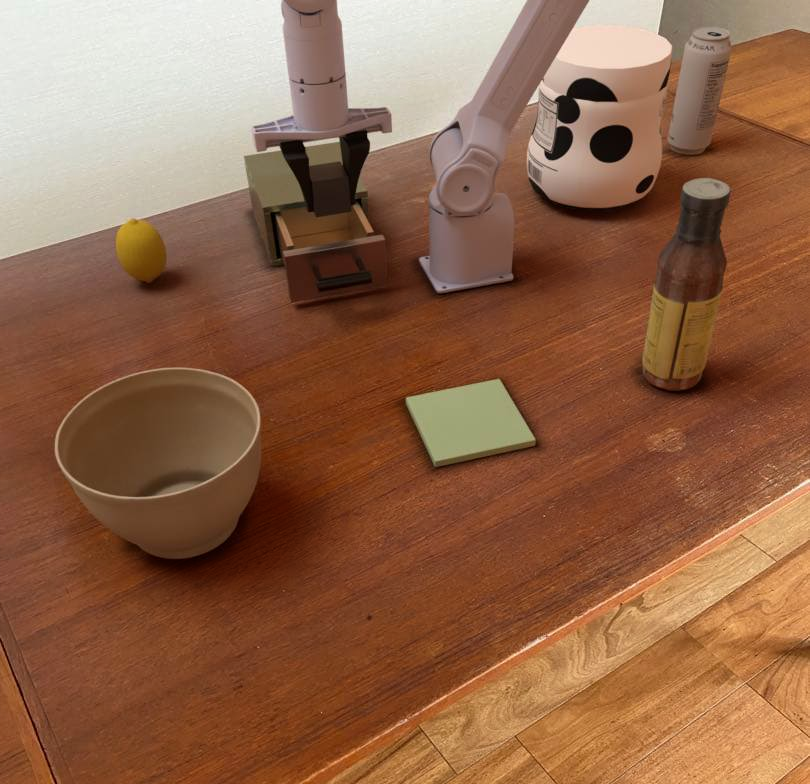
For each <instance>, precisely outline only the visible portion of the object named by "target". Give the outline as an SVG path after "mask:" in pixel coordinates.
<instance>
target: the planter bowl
mask: <svg viewBox="0 0 810 784" xmlns="http://www.w3.org/2000/svg"><path fill="white" fill-rule="evenodd" d="M55 434H56V435H55V439H54V455H55V460H56V461H57V464H58V466H59V469H60V470H61V472H62V473H63V475H64V477H65V478H66V480H67V481H68V482H69V483H70V485H71V487H72V489H73V491H74V492H75V494H76V496H77V497H78V499H79V500H80V502H81V504H83V505H84V507H85V508H86V510H88V512H89V513H90V514H91V515H92V516H93V517H94V518H95V519H96V520H97V521H98V522H99V523H101V524H102V525H103V526H104V527H105V528H106V529H108V530H109V531H111V532H112V533H114V534H115V535H117V536H119V537H120V538H122V539H124V540H125V541H128V542H129V543H132V544H134V545H137V546H138V547H139V548H140V549H141V550H143V551H144V552H145V553H147V554H149V555H152V556H155V557H156V558H162V559H168V560H181V559H190V558H194V557H197V556H200V555H203V554H206V553H208V552H210V551H213V550H214V549H216V548H217V547H219V546H220V545H222V544H223V543H224V542H225V541H227V539H228V538H229V537H230V536H231V534H233V532H234V531H235V529H236V528H237V525H238V522H239V519H240V516H241V515H242V514H243V512H244V510H245V509H246V507H247V505H248V504H249V502H250V500H251V498H252V496H253V494H254V491H255V488H256V486H257V483H258V479H259V477H260V470H261V469H260V468H261V465H262V439H261V434H262V417H261V411H260V408H259V405H258V403H257V401H256V399H255V398H254V396H253V395H252V393H250V391H249V390H247V389H246V388H245V387H244V386H243V385H242V384H240V383H239V382H237V381H236V380H235V379H232V378H231V377H228V376H226V375H223V374H220V373H218V372H213V371H211V370H205V369H199V368H192V367H160V368H155V369H154V368H153V369H149V370H143V371H139V372H134V373H131V374H129V375H125V376H123V377H120V378H117V379H115V380H112V381H109V382H108V383H106V384H104V385H102V386H100V387H98V388H96V389H95V390H93V391H91V392H90V393H89V394H87V395H86V396H85V397H83V398H82V399H81V400H80V401H79V402H77V404H75V406H73V407H72V409H71V410H70V411H69V412H68V413H67V414H66V415H65V417H64V418H63V420H62V422H61V423H60V424H59V427H58V429H57V432H56V433H55Z"/></svg>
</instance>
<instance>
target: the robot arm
mask: <svg viewBox="0 0 810 784" xmlns="http://www.w3.org/2000/svg"><path fill="white" fill-rule="evenodd" d="M589 2H590V0H526V2H525V3H524V5H523V7H522V9H521V10H520V12H519V14H518V15H517V18H516V19H515V21H514V23H513V25H512V27H511V29H510V30H509V32H508V34H507V36H506V37H505V39H504V41H503V43H502V45H501V46H500V49H499V50H498V52H497V54H496V56H495V57H494V59H493V61H492V62H491V65H490V66H489V68H488V70H487V72H486V73H485V76H484V77H483V79H482V80H481V83H480V85H479V86H478V88H477V90H476V92H475V93H474V95H473V97H472V99H471V100H470V101H469V102H467V103H466V104H465V105H463V106H462V107H460V108H459V109H458V111H457V113H456V115H455V117H454V118H453V119H452V121H451V122H450V123H449V124H447V125H446V126H445V127H444V128H442V129H441V130H439V131H438V132H437V133H436V134H435V136H434V137H433V139H432V141H431V143H430V145H429V152H428V153H429V154H428V155H429V156H428V157H429V162H430V165H431V167H432V171H433V175H434V180H435V184H434V186H433V188H432V190H431V191H430V193H429V195H428V240H429V241H428V243H429V245H428V248H429V250H428V251H429V252H428V254H429V255H426V256H421V257H419V258H418V262H419V265H420V266H421V268H422V270H423V271H424V273H425V275H426V277H427V278H428V280H429V281H430V284H431V285H432V287H433V288H434V291H435V292H436V293H437V294H446V293H451V292H456V291H457V292H458V291H461V290H468V289H473V288H478V287H483V286H489V285H494V284H500V283H501V284H502V283H507V282H511V281H513V280H514V274H513V273H512V271H513V270H512V269H513V255H514V254H513V253H514V242H515V241H514V240H515V216H514V210H513V206H512V203H511V200H510V198H509V197H508V195H507V194H506V193H505V192H495V191H496V181H497V175H498V174H499V171H500V169H501V167H503V164H504V163H505V159H506V155H507V150H508V146H509V140H510V135H511V133H512V131H513V129H514V128H515V126H516V125H517V122H518V121H519V119H520V117H521V116H522V114H523V112H524V111H525V109H526V107H527V105H528V104H529V102H530V101H531V99H532V97H533V96H534V94H535V92H536V91H537V89H538V88H539V84H540V82H541V81H542V79H543V77H544V76H545V74H546V72H547V71H548V69H549V67H550V66H551V64H552V62H553V61H554V59H555V57H556V56H557V54H558V52H559V51H560V49H561V47H562V46H563V44H564V42H565V41H566V39H567V37H568V36H569V34H570V32H571V31H572V29H573V28H575V26H576V24H577V22H578V21H579V19H580V17H581V16H582V14H583V12H584V10H585V9H586V8H587V6H588V4H589ZM280 11H281V15H282V18H283V23H282V33H283V34H282V35H283V43H284V50H285V59H286V66H287V67H286V68H287V74H288V75H287V76H288V82H289V89H290V90H289V91H290V100H291V107H292V115H289V116H286V117H283V118H279V119H275V120H272V121H270V122H265V123H262V124H255V125H251V135H252V140H253V141H252V142H253V145H254V148H255V151H256V153H260V152H261V153H262V152H266V151H267V150H268V148H269V149H270V148H276V147H279V149H280V151H282V154H283V156H284V158H285V160H286V162H287V164H288V165H289V167H290V168H291V170H292V172H293V174H294V175H295V177H296V179H297V181H298V183H299V185H300V188H301V191H302V194H303V198H304V202H305V206H306V208H307V211H308V212H314V204H313V196H312V191H311V185H310V173H309V158H308V156H307V153H306V149H305V147H306V146H305V143H309V142H316V141H324V140H331V139H338V140H339V141H338V142H340V148H341V155H342V163H343V167H344V169H345V171H346V173H347V175H348V178H349V190H350V202H351V206H353V205H355V195H356V189H357V184H358V180H359V177H360V176H361V173H362V171H363V167H364V165H365V163H366V160H367V158H368V156H369V154H370V150H371V141H370V140H369V137H368V134H372V133H377V132H380V133H382V134H390V133H393V121H392V120H393V117H392V112H391V111H390V110H389V108H388V107H387V106H382V107H368V108H367V107H349V99H348V87H347V86H348V85H347V73H346V59H345V49H344V47H345V46H344V36H343V23H342V20H341V18H340V16H339V11H338V0H281V2H280Z"/></svg>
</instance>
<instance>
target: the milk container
mask: <svg viewBox="0 0 810 784" xmlns="http://www.w3.org/2000/svg"><path fill="white" fill-rule="evenodd" d="M672 58H673V45H672V44H671V43H670V42H669V40H668V39H667V38H666V37H664V36H662V35H659V34H658V33H656V32H654V31H650V30H646V29H642V28H638V27H634V26H624V25H615V24H596V25H595V24H592V25H584V26H577V27H575V26H574V27H573V29H572V31H571V32H570V34H569V36H568V37H567V39H566V41H565V42H564V44H563V46H562V47H561V49H560V51H559V52H558V54H557V56H556V57H555V59H554V61H553V62H552V64H551V66H550V67H549V69H548V71H547V72H546V74H545V76H544V77H543V79H542V81H541V82H540V84H539V86H538V99H537V101H538V102H537V113H536V119H535V122H534V125H533V129H532V132H531V134H530V137H529V141H528V144H527V149H526V170H527V178H528V181H529V184H530V186H531V188H532V189H533V190H534V192H535V193H536V194H538V195H539V196H540V197H542V198H543V199H544V200H546V201H547V202H549V203H551V204H554V205H556V206H558V207H561V208H564V209H565V208H566V209H571V210H576V211H579V212H607V211H612V210H620V209H623V208H626V207H628V206H630V205H633V204H636V203H637V202H639V201H641V200H642V199H644V198H645V197H646V196H647V195H648V194H649V193H650V192H651V190H652V188H654V185H655V182H656V181H657V177H658V175H659V172H660V169H661V165H662V159H663V141H662V118H663V112H664V107H665V103H666V99H667V95H668V89H669V80H670V79H669V77H670V73H671V68H672V60H673V59H672Z"/></svg>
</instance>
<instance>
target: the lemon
mask: <svg viewBox="0 0 810 784" xmlns="http://www.w3.org/2000/svg"><path fill="white" fill-rule="evenodd" d="M165 245H166V244H165V242H164V240H163V238H162V236H161V234H160V233H159V231H158V230H157V229H156V227H155V226H154V225H152V224H151V223H149V222H147V221H145V220H142V219H137V218H135V217H133V218H132V217H131V218H130V219H129V220H127V222H125V223H124V224H122V225H121V226H120V228H119V229H118V231H117V234H116V237H115V251H116V256H117V258H118V261H119V263H120V266H121V267H122V269H123V271H125V273H126V274H127V275H129V276H130V277H131V278H133V279H135V280H137V281H141V282H142V281H143V282H146V283H147V284H150V283H152V282H154V280H155V279H157V278H158V277H159V276H160V275H162V273H163V272H164V270H165V268H166V265H167V250H166V246H165Z"/></svg>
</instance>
